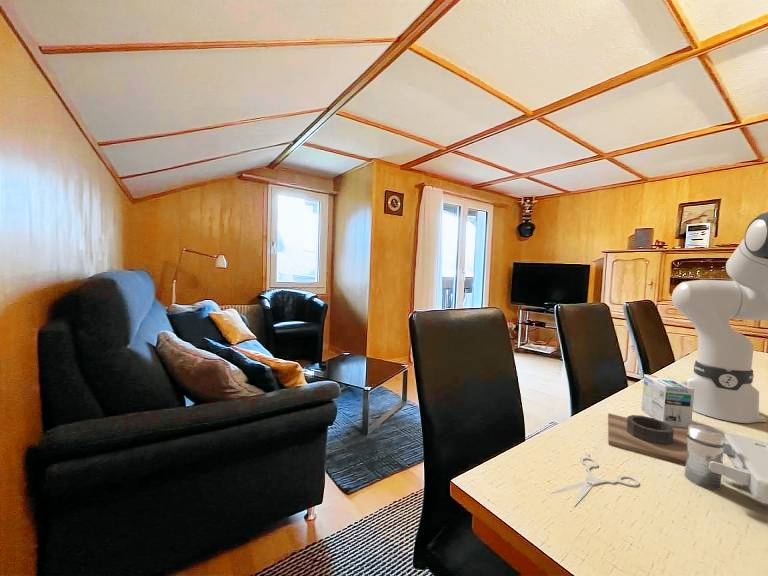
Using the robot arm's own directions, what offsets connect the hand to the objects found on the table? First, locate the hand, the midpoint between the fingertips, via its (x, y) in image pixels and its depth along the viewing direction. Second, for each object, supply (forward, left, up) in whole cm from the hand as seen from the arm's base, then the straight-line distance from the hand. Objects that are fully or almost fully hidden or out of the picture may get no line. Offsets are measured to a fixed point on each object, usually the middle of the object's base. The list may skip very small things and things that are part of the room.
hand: (702, 452), depth 63 cm
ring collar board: (-14, -7, -6) cm, 16 cm away
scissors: (+14, -18, -6) cm, 23 cm away
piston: (0, 0, -6) cm, 6 cm away
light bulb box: (-32, -2, -6) cm, 33 cm away
